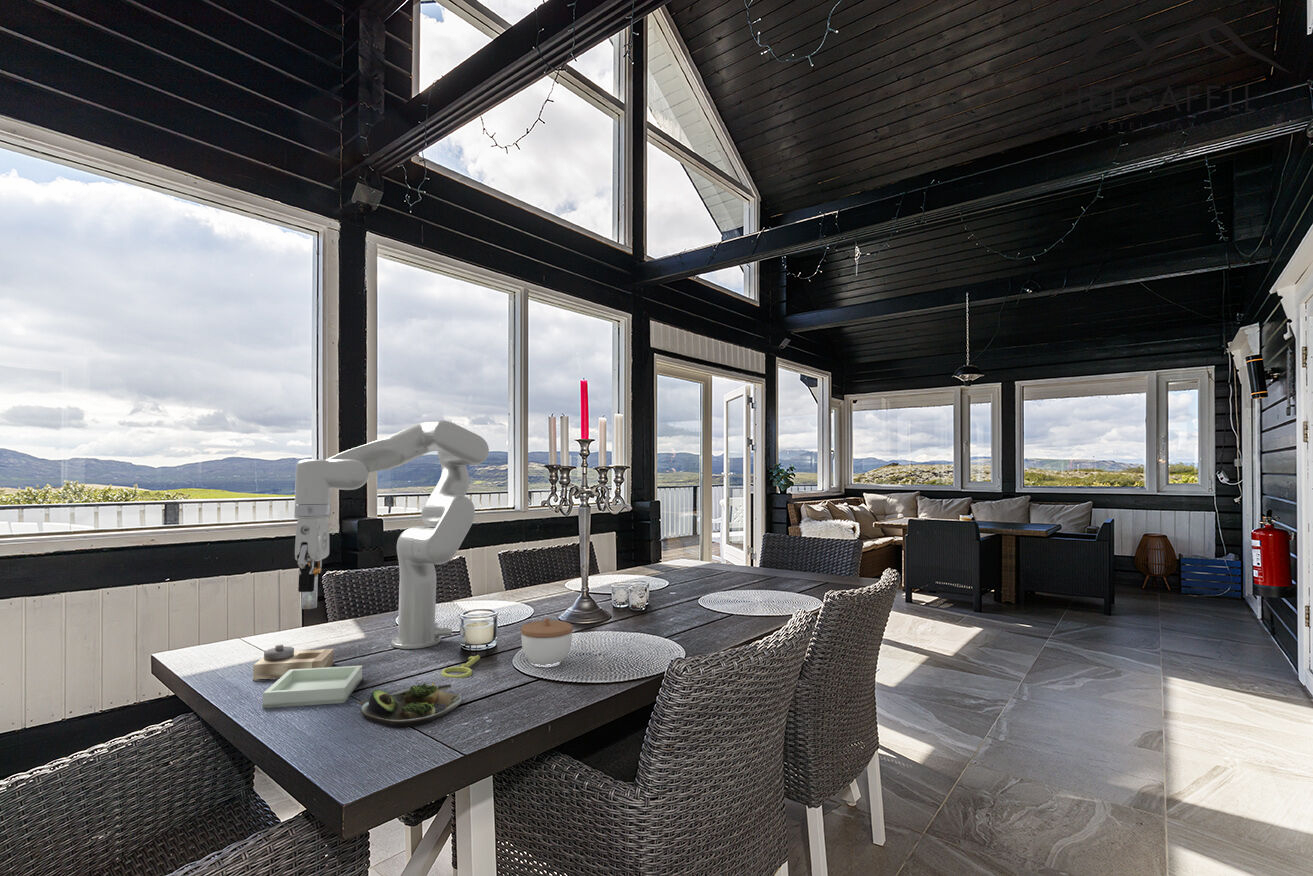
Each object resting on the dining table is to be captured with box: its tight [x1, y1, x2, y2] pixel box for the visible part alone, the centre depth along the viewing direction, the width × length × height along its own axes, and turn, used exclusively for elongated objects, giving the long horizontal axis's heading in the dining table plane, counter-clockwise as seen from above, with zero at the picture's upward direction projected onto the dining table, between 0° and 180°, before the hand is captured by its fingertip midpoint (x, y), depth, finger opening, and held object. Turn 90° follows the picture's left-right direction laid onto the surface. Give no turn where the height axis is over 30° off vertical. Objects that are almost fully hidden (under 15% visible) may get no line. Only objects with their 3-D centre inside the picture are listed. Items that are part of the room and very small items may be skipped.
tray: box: [262, 665, 363, 709], centre depth 134 cm, size 15×15×3 cm
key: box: [440, 654, 481, 679], centre depth 150 cm, size 7×12×2 cm, turn 4°
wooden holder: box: [252, 644, 335, 681], centre depth 148 cm, size 14×10×6 cm
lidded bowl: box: [520, 617, 573, 665], centre depth 155 cm, size 13×13×11 cm
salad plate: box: [356, 682, 463, 728], centre depth 127 cm, size 19×18×5 cm
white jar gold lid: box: [300, 568, 322, 610], centre depth 148 cm, size 4×4×9 cm
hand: (309, 588), depth 148 cm, fingers closed on white jar gold lid, 4 cm apart
